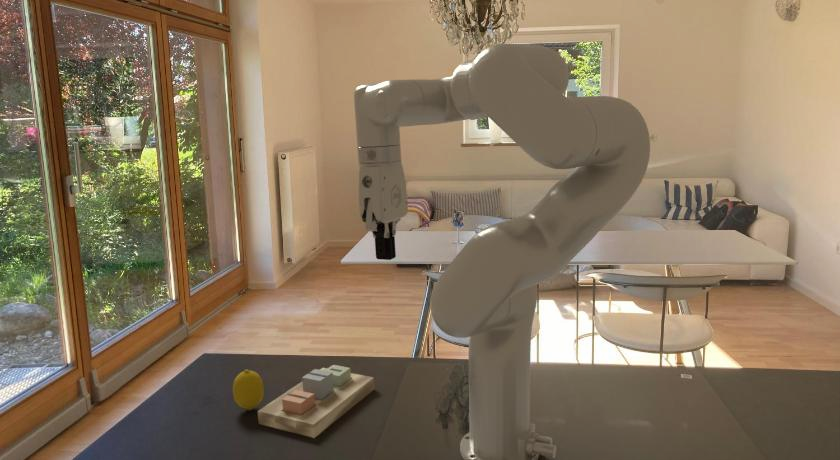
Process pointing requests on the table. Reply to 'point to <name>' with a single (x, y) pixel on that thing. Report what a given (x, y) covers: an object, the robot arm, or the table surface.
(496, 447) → the robot arm
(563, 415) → the table surface
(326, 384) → the key slate
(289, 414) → the keypad board
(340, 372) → the key sage
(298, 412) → the key terracotta
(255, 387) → the lemon
